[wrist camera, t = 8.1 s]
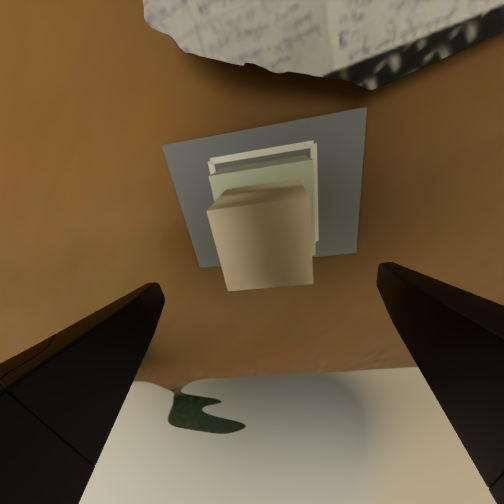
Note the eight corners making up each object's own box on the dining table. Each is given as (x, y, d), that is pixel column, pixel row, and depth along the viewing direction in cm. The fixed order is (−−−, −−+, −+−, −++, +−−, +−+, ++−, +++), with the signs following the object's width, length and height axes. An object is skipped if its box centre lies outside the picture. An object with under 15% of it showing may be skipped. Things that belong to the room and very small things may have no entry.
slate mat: (201, 265, 24) (199, 268, 23) (163, 145, 18) (160, 145, 18) (355, 251, 21) (356, 253, 21) (364, 107, 16) (367, 106, 15)
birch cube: (239, 252, 17) (228, 291, 13) (225, 189, 15) (206, 211, 11) (302, 245, 17) (313, 284, 12) (298, 178, 14) (309, 196, 10)
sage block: (236, 242, 21) (229, 263, 18) (220, 168, 18) (208, 176, 15) (308, 234, 20) (315, 255, 17) (304, 154, 17) (313, 159, 14)
